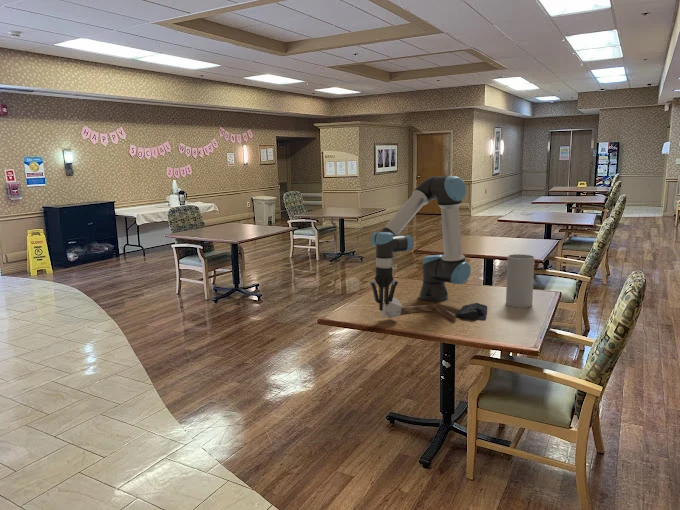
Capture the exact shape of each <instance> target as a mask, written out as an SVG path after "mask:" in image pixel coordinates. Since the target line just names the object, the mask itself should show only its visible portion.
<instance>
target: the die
mask: <svg viewBox="0 0 680 510" xmlns="http://www.w3.org/2000/svg"><path fill="white" fill-rule="evenodd" d="M388 302H389V304H387V305H386V309H385V311H386V317H387V318H388V319H392V318H396V317H400V316H401V314H400V312H401V307H403V306H402V304H401V302H400V301H399V300H398V299H397V297H393V299H392V301H388Z"/></svg>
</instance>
